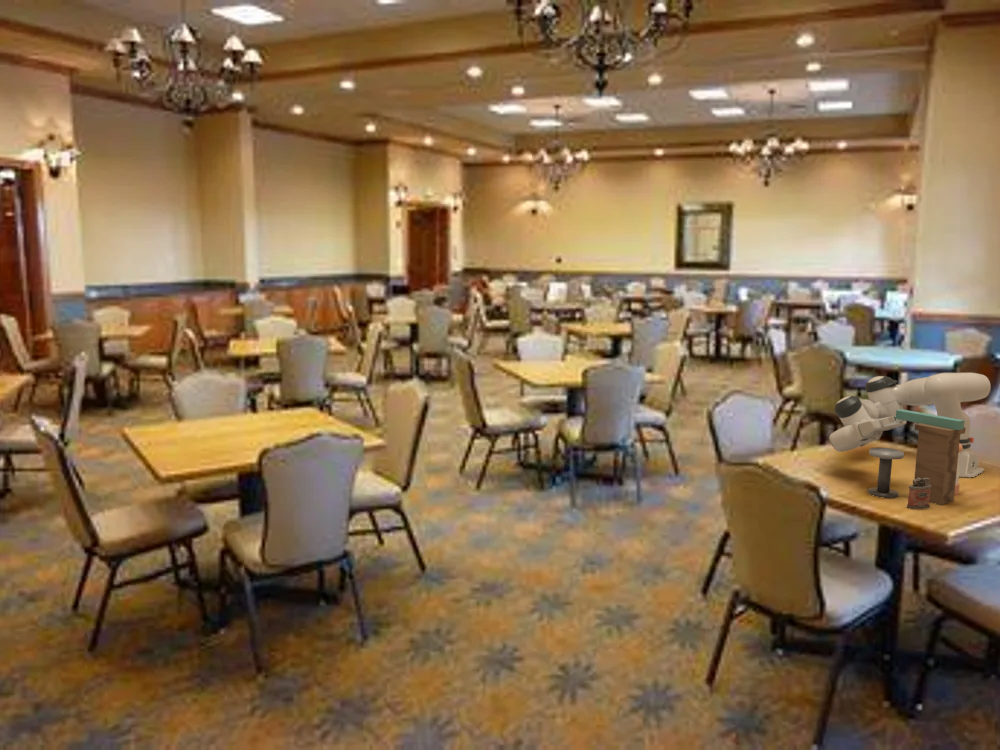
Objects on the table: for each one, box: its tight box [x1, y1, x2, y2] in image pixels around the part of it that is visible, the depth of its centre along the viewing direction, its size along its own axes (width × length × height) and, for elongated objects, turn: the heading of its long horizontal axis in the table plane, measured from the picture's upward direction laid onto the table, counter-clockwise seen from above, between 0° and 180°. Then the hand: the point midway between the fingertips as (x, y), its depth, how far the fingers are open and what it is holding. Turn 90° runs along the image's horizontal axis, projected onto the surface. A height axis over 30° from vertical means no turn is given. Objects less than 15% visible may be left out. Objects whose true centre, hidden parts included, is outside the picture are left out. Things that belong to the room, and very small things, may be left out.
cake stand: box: [867, 447, 905, 499], centre depth 295 cm, size 11×11×16 cm
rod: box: [896, 408, 964, 430], centre depth 289 cm, size 4×22×3 cm, turn 35°
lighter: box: [906, 478, 931, 510], centre depth 281 cm, size 8×3×10 cm, turn 105°
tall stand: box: [914, 423, 966, 506], centre depth 288 cm, size 10×12×26 cm
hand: (902, 416), depth 297 cm, fingers open, 8 cm apart
